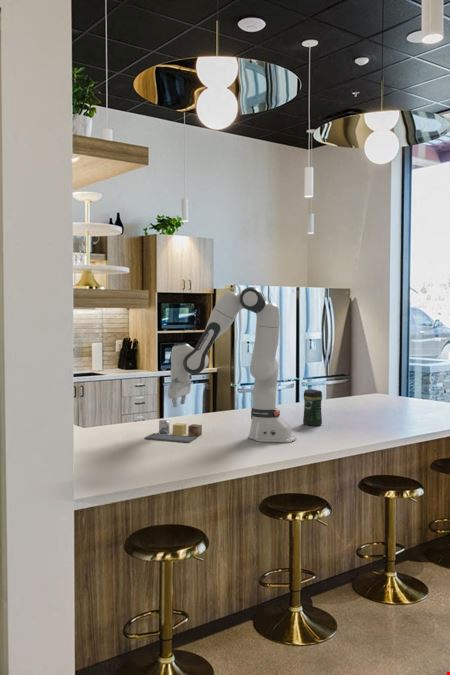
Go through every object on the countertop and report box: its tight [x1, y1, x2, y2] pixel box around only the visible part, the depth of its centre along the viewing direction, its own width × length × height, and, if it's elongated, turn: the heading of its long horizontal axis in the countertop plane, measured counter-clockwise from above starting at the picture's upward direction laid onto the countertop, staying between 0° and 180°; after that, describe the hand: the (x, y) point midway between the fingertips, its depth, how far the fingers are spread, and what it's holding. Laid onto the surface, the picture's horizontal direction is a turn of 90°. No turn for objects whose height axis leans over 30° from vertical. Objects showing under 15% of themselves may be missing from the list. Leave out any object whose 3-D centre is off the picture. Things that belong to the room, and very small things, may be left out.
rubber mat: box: [144, 432, 198, 444], centre depth 302 cm, size 22×10×1 cm, turn 72°
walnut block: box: [187, 423, 203, 438], centre depth 310 cm, size 5×5×5 cm
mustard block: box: [172, 422, 187, 436], centre depth 312 cm, size 5×5×5 cm
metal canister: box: [158, 419, 170, 435], centre depth 314 cm, size 5×5×6 cm
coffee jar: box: [302, 389, 323, 427], centre depth 340 cm, size 10×8×19 cm
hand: (178, 405), depth 311 cm, fingers open, 8 cm apart
